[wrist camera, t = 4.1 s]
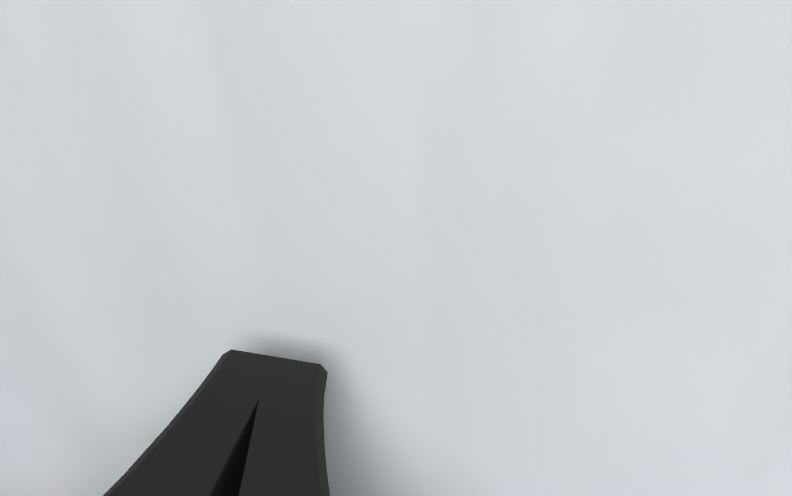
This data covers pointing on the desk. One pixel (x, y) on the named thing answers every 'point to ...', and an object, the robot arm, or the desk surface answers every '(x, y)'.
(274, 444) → the robot arm
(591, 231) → the desk surface
